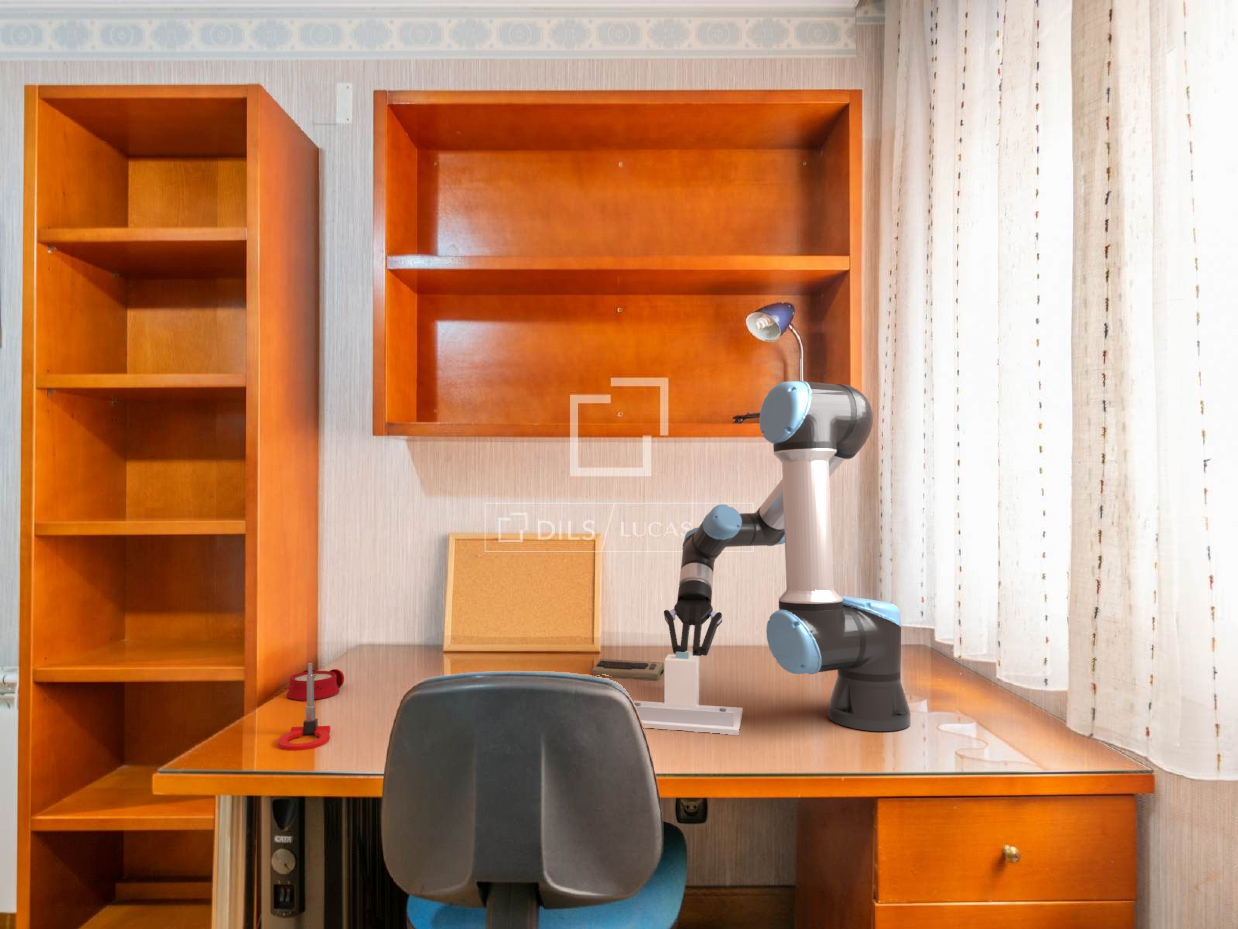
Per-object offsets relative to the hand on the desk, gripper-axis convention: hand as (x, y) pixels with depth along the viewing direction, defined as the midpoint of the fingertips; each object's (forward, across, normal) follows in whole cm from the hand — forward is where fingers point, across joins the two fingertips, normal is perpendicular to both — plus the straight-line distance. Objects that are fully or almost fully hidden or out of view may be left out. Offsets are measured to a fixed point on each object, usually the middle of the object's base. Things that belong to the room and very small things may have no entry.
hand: (686, 682), depth 160 cm
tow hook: (+29, +63, +22) cm, 73 cm away
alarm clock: (+9, +79, +1) cm, 80 cm away
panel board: (+10, 0, +3) cm, 10 cm away
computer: (-12, +16, -20) cm, 29 cm away
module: (+10, 0, +5) cm, 11 cm away
